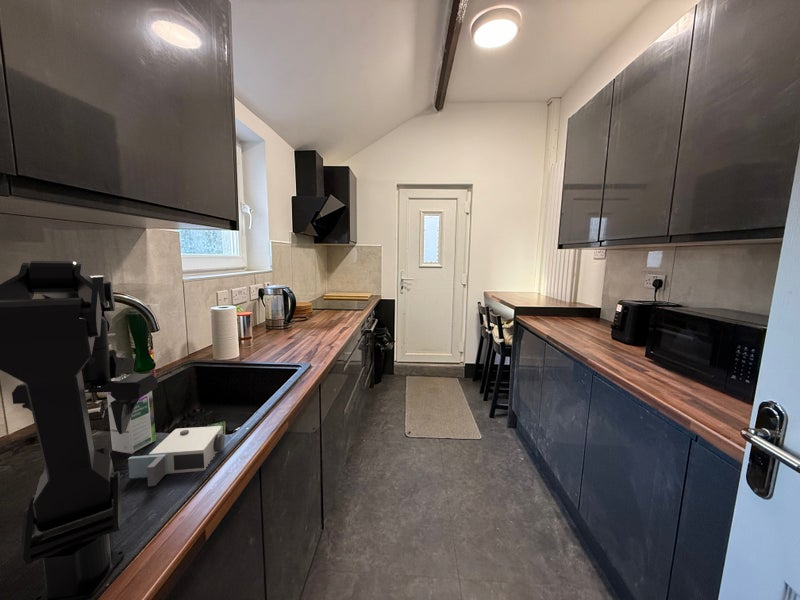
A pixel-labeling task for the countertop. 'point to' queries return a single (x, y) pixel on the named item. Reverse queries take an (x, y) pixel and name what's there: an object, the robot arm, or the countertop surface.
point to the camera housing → (191, 448)
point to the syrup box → (134, 426)
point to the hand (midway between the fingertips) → (93, 434)
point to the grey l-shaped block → (148, 467)
